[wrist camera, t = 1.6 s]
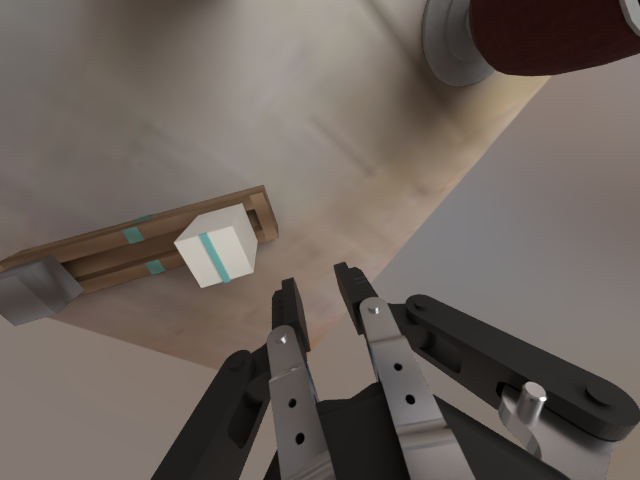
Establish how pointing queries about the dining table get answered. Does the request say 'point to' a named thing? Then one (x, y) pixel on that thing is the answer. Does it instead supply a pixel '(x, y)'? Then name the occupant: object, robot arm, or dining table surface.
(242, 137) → the dining table surface
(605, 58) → the mate gourd
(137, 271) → the beam
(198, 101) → the dining table surface
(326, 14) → the dining table surface
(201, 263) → the block
